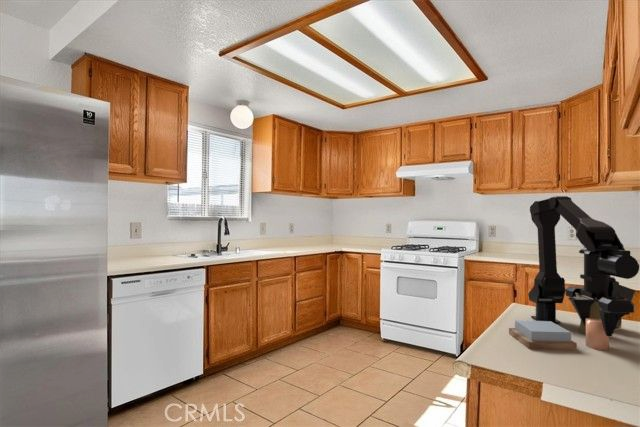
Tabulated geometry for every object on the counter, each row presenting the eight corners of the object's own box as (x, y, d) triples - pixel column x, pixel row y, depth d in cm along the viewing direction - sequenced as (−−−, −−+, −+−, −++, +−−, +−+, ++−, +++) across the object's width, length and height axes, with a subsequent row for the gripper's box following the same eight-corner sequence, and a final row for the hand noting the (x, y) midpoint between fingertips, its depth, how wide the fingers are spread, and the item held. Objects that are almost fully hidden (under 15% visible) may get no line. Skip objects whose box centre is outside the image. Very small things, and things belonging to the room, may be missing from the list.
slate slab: (515, 328, 109) (515, 320, 109) (550, 329, 108) (550, 321, 108) (531, 340, 99) (531, 331, 99) (571, 341, 98) (571, 332, 98)
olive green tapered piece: (608, 336, 107) (608, 298, 107) (585, 335, 108) (585, 297, 108) (597, 330, 113) (597, 294, 113) (575, 329, 114) (575, 293, 114)
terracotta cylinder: (581, 343, 102) (581, 317, 102) (600, 343, 101) (600, 318, 101) (593, 349, 97) (593, 323, 97) (613, 350, 96) (613, 323, 96)
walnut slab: (509, 336, 110) (509, 327, 110) (551, 337, 109) (551, 328, 109) (528, 351, 98) (528, 342, 98) (576, 352, 97) (576, 343, 97)
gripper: (658, 278, 89) (658, 343, 89) (604, 267, 108) (604, 321, 108) (609, 278, 90) (609, 342, 90) (564, 267, 109) (564, 320, 109)
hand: (596, 330), depth 99 cm, fingers open, 9 cm apart
